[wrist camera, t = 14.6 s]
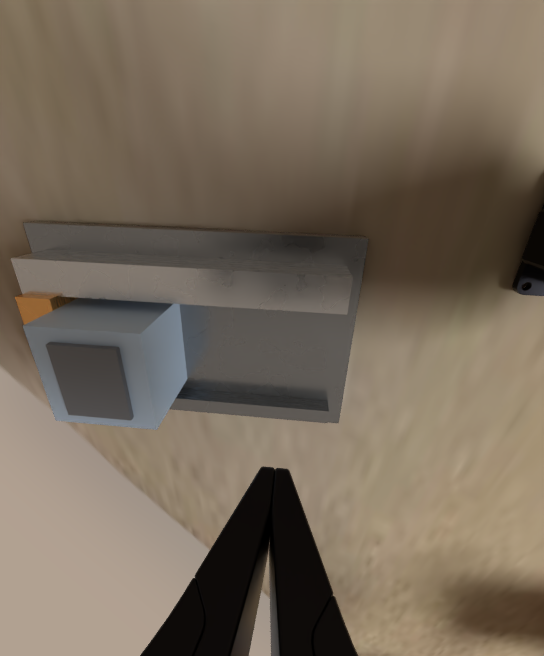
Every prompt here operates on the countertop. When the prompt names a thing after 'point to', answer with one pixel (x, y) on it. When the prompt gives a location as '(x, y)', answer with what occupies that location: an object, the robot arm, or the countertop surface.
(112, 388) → the block
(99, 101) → the countertop surface
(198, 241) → the rail plate
